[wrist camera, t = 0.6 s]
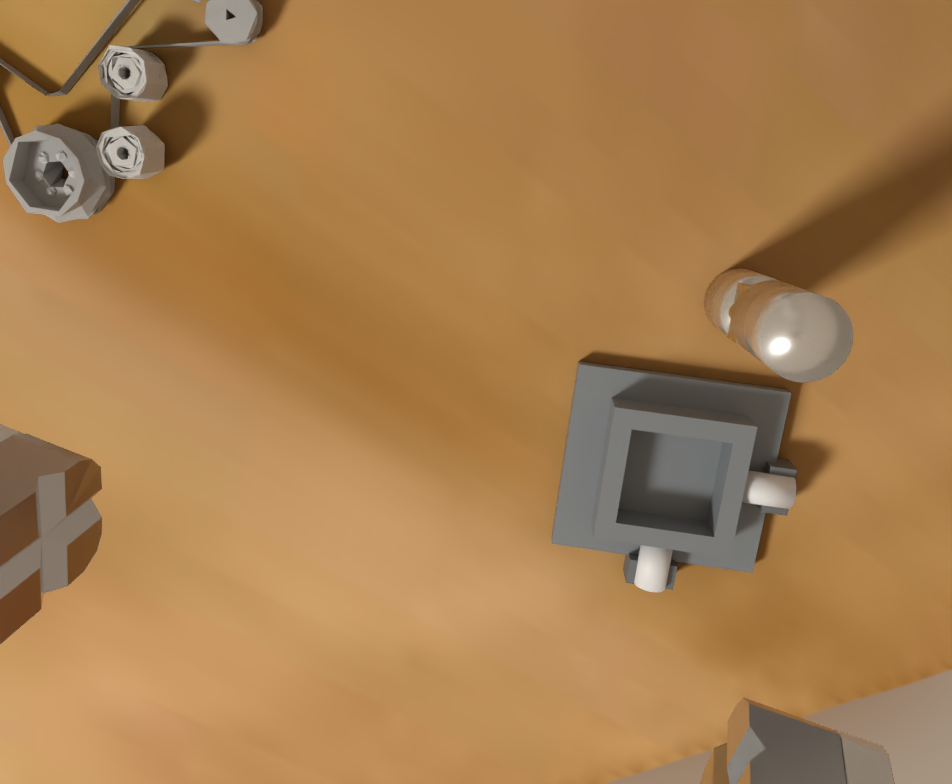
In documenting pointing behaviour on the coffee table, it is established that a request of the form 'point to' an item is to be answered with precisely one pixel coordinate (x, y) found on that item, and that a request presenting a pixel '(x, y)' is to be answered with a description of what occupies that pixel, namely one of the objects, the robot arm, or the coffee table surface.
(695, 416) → the shaft housing
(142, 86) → the pulley system
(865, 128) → the coffee table surface
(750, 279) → the coupler
